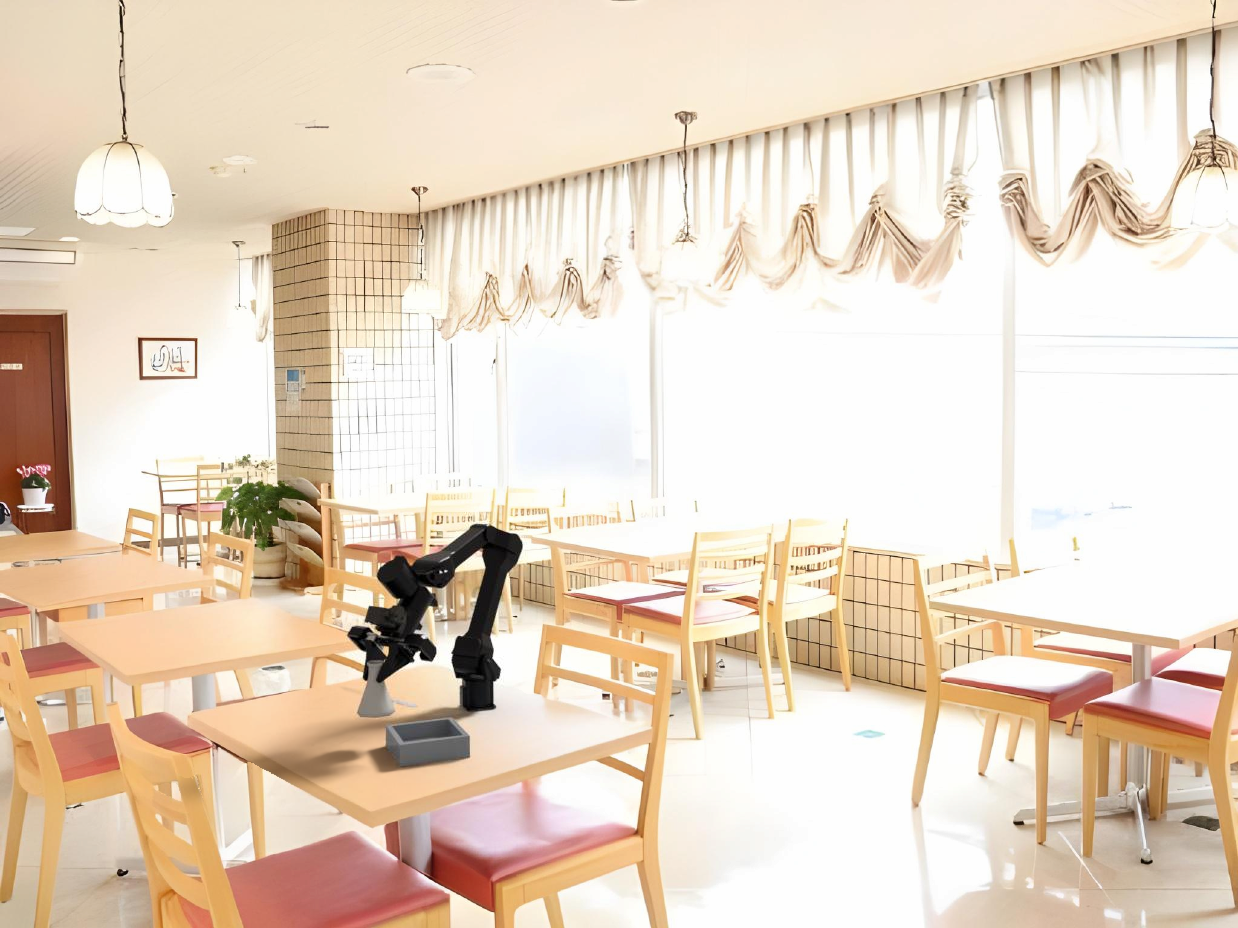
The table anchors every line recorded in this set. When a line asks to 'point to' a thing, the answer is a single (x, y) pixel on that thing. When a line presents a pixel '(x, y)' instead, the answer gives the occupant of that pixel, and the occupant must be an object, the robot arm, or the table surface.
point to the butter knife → (404, 703)
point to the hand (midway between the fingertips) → (370, 680)
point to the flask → (375, 695)
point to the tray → (427, 741)
